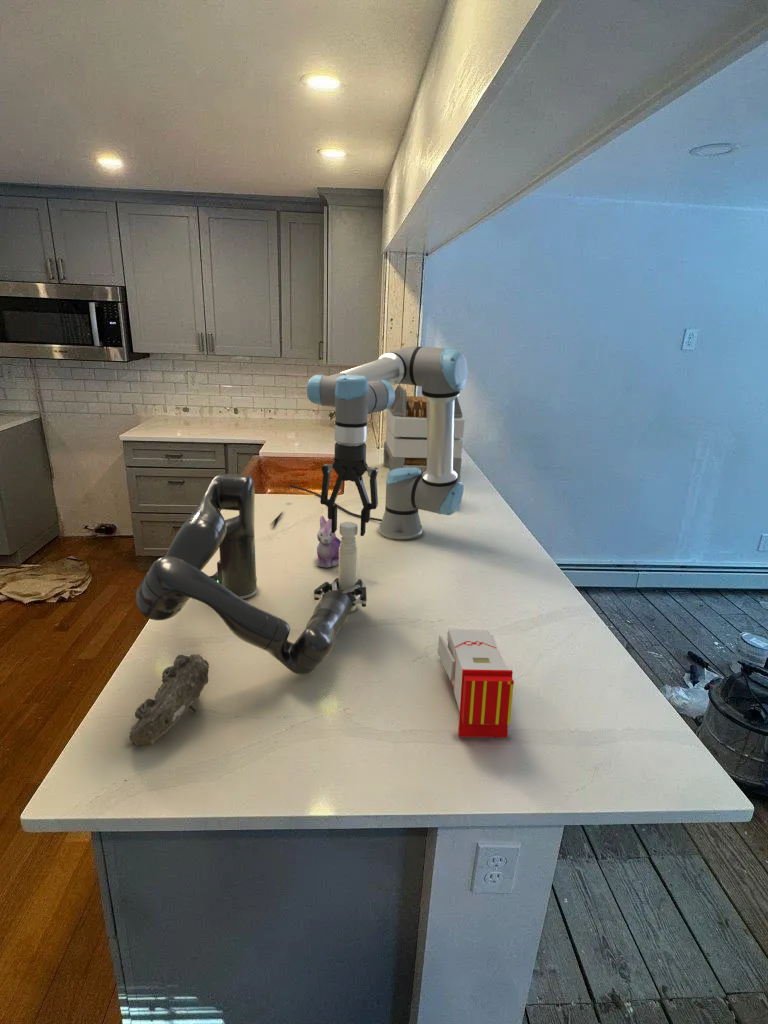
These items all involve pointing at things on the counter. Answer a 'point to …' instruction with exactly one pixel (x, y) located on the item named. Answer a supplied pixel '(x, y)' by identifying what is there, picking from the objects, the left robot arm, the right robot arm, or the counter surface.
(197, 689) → the fossil
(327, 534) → the figurine
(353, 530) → the cap
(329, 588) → the left robot arm
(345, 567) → the bottle
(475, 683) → the toy
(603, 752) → the counter surface
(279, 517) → the feather
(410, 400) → the grey slatted box
